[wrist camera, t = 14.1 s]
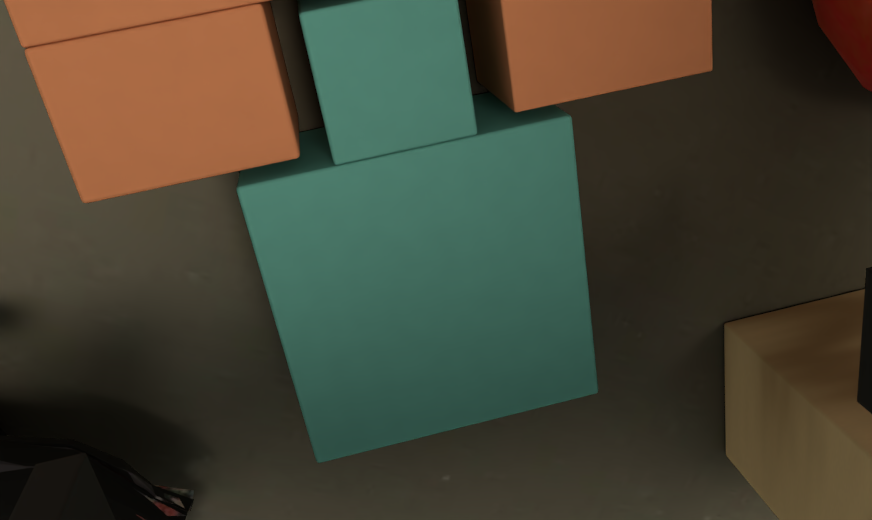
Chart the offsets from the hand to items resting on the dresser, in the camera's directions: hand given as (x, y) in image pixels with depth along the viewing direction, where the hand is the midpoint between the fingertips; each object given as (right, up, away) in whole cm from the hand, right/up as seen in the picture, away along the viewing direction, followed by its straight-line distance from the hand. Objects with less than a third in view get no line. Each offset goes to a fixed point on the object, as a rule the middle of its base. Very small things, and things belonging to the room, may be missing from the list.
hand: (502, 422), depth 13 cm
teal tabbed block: (-2, +5, +7) cm, 8 cm away
